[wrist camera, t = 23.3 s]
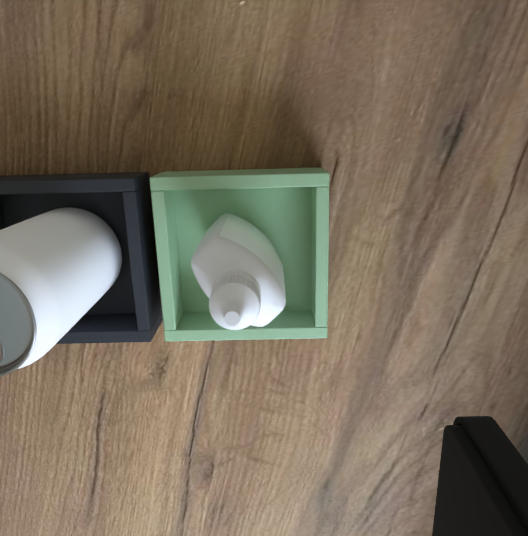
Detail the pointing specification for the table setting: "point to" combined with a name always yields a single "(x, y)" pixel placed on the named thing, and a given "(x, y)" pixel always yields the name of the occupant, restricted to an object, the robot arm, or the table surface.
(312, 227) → the sage bin
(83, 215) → the can
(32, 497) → the table surface
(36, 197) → the charcoal bin
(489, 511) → the robot arm
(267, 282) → the eye dropper bottle
